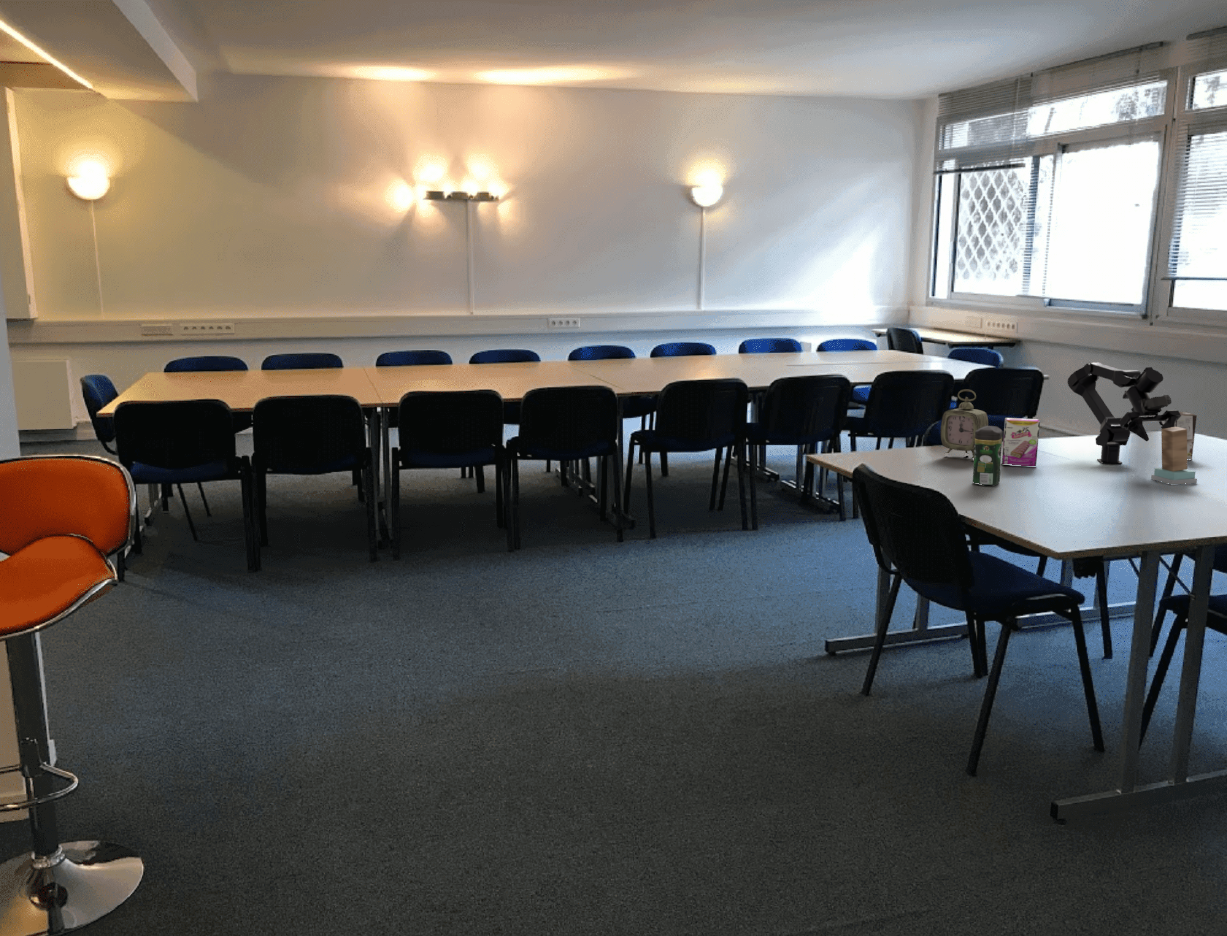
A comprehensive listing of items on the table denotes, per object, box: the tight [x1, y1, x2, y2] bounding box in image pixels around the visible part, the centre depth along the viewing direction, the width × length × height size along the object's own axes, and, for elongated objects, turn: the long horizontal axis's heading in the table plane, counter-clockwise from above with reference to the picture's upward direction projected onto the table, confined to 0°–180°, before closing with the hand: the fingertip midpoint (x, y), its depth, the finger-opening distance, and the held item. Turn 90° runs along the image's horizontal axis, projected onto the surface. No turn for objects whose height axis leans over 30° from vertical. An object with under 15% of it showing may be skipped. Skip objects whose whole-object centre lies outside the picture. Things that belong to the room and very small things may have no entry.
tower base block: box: [1150, 473, 1198, 485], centre depth 311 cm, size 9×9×2 cm
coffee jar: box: [972, 425, 1004, 486], centre depth 311 cm, size 10×8×19 cm
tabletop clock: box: [940, 388, 989, 459], centre depth 352 cm, size 14×9×25 cm, turn 42°
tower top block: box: [1153, 467, 1196, 480], centre depth 311 cm, size 8×8×2 cm
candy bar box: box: [1001, 417, 1041, 467], centre depth 337 cm, size 11×5×16 cm, turn 71°
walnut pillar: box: [1160, 427, 1188, 472], centre depth 309 cm, size 5×5×13 cm
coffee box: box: [1174, 411, 1198, 461], centre depth 346 cm, size 9×6×16 cm
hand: (1160, 439), depth 316 cm, fingers open, 9 cm apart
